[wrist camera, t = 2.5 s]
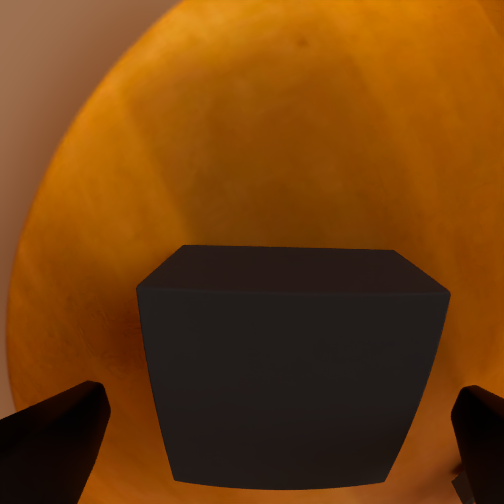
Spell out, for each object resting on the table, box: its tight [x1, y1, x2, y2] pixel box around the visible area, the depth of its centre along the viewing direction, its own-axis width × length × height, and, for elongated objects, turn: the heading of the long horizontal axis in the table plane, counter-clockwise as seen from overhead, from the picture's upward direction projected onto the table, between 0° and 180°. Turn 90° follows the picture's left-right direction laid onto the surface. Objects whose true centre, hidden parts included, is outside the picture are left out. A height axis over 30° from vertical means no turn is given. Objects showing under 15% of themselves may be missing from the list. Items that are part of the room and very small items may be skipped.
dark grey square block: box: [136, 245, 451, 490], centre depth 8 cm, size 6×6×4 cm
